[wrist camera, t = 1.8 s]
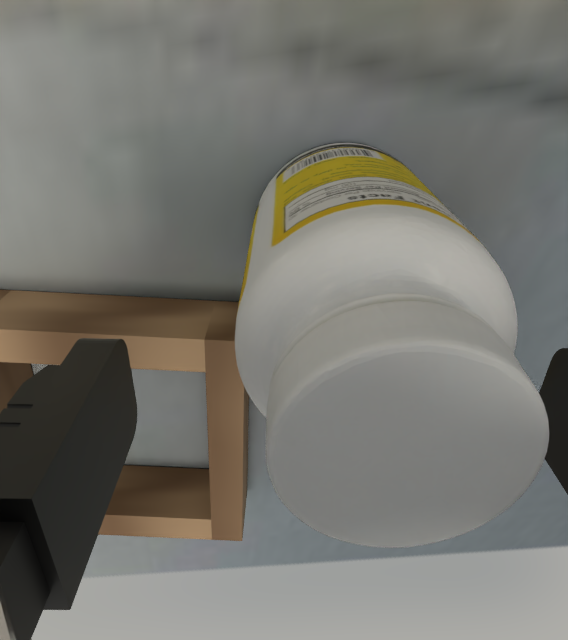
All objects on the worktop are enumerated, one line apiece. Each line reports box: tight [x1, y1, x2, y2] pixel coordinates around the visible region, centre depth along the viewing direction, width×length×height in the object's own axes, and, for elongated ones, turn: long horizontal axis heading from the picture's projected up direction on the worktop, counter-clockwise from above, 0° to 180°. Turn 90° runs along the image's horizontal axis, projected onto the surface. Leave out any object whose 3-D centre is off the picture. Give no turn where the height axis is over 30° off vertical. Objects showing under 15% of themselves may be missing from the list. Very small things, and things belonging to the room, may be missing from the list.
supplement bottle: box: [235, 143, 549, 548], centre depth 11 cm, size 5×5×10 cm
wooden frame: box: [0, 290, 249, 541], centre depth 18 cm, size 9×9×2 cm
